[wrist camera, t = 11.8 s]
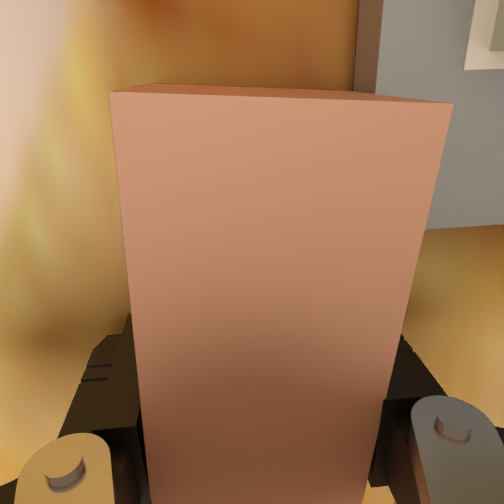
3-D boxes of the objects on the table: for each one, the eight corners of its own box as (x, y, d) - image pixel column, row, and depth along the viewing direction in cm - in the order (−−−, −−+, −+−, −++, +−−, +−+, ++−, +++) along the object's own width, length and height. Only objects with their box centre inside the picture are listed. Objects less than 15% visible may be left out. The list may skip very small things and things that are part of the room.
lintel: (298, 476, 13) (332, 628, 10) (176, 485, 13) (165, 648, 9) (346, 90, 8) (453, 103, 5) (153, 83, 8) (109, 92, 4)
